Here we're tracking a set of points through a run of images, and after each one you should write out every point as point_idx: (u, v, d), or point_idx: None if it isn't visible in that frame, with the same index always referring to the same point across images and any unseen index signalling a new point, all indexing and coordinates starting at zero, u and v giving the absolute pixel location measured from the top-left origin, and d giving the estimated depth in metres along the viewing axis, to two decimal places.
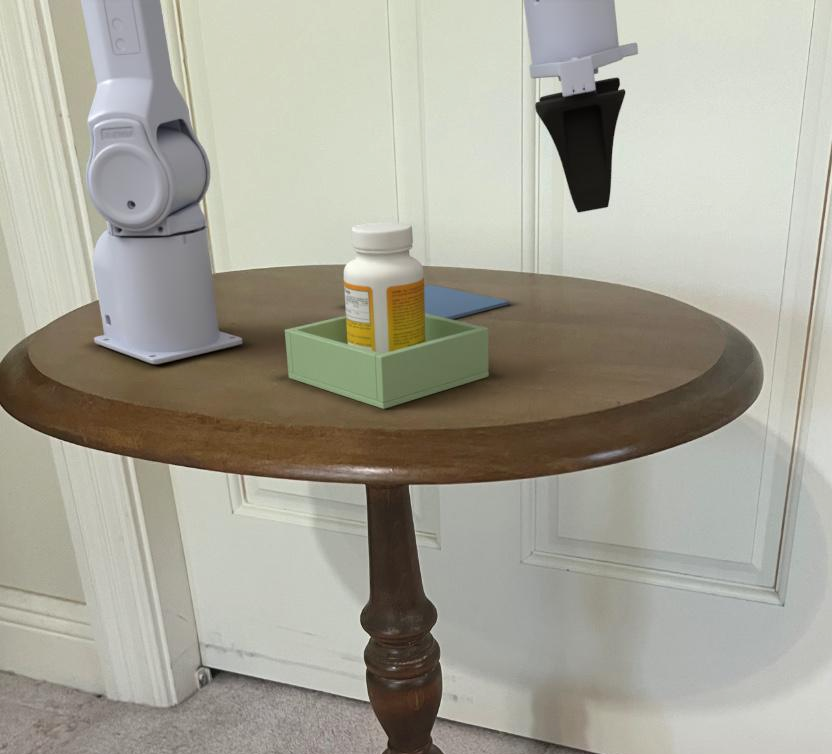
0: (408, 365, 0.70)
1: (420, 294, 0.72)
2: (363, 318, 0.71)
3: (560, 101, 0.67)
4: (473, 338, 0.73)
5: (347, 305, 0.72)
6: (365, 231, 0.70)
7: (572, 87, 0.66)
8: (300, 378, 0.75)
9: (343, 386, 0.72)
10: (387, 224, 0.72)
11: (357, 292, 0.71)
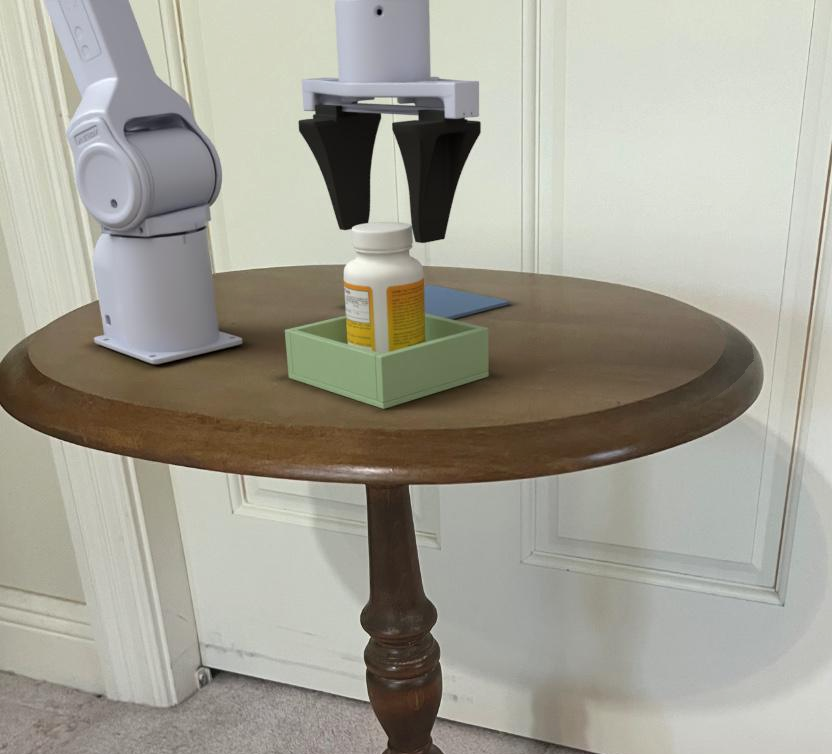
0: (408, 365, 0.70)
1: (420, 294, 0.72)
2: (363, 318, 0.71)
3: (440, 123, 0.64)
4: (473, 338, 0.73)
5: (347, 305, 0.72)
6: (365, 231, 0.70)
7: (463, 110, 0.63)
8: (300, 378, 0.75)
9: (343, 386, 0.72)
10: (387, 224, 0.72)
11: (357, 292, 0.71)
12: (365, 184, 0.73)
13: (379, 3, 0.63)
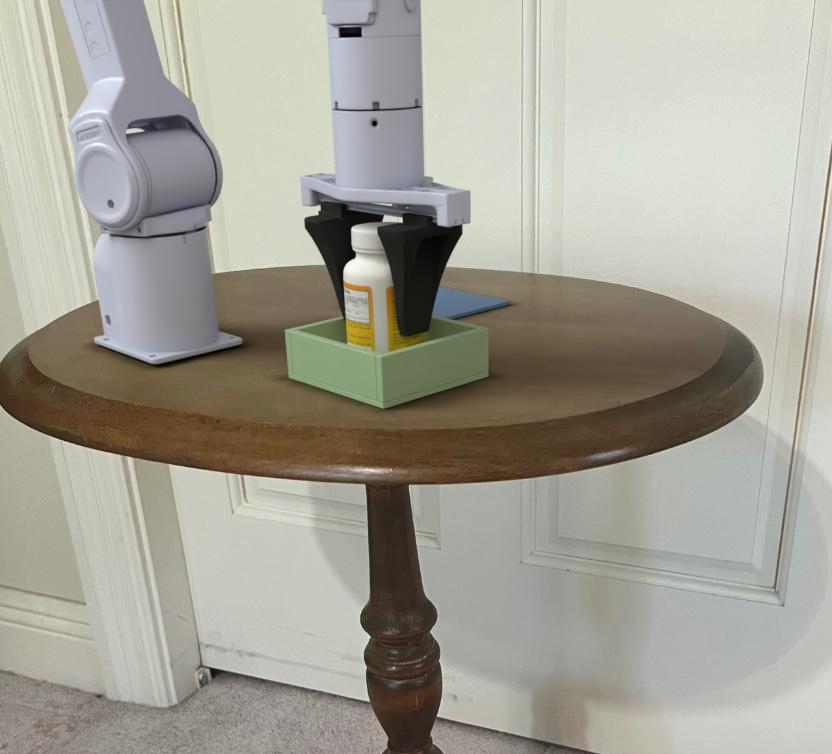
0: (408, 365, 0.70)
1: None
2: (362, 318, 0.71)
3: (422, 229, 0.67)
4: (473, 338, 0.73)
5: (347, 305, 0.72)
6: (365, 231, 0.70)
7: (455, 218, 0.65)
8: (300, 378, 0.75)
9: (343, 386, 0.72)
10: (387, 224, 0.72)
11: (357, 292, 0.71)
12: None
13: (374, 115, 0.65)
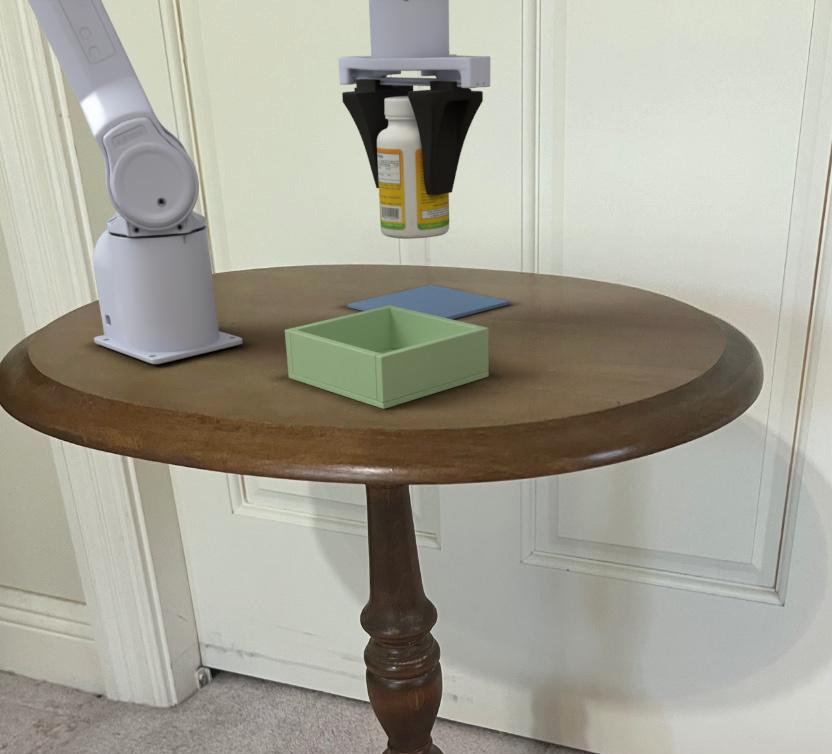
0: (408, 365, 0.70)
1: None
2: (394, 180, 0.81)
3: (448, 92, 0.76)
4: (473, 338, 0.73)
5: (380, 169, 0.82)
6: (397, 99, 0.79)
7: (477, 80, 0.75)
8: (300, 378, 0.75)
9: (343, 386, 0.72)
10: None
11: (389, 155, 0.80)
12: None
13: None
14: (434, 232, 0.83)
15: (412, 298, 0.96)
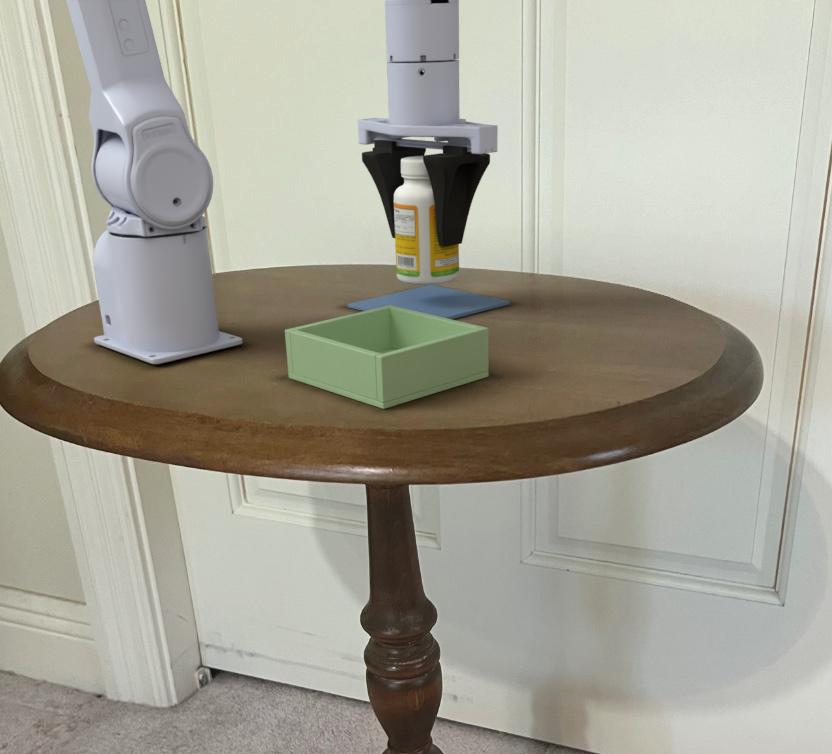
0: (408, 365, 0.70)
1: None
2: (409, 232, 0.89)
3: (459, 156, 0.84)
4: (473, 338, 0.73)
5: (396, 222, 0.90)
6: (412, 160, 0.87)
7: (485, 147, 0.83)
8: (300, 378, 0.75)
9: (343, 386, 0.72)
10: None
11: (405, 210, 0.89)
12: None
13: (422, 66, 0.83)
14: (446, 279, 0.91)
15: (412, 298, 0.96)
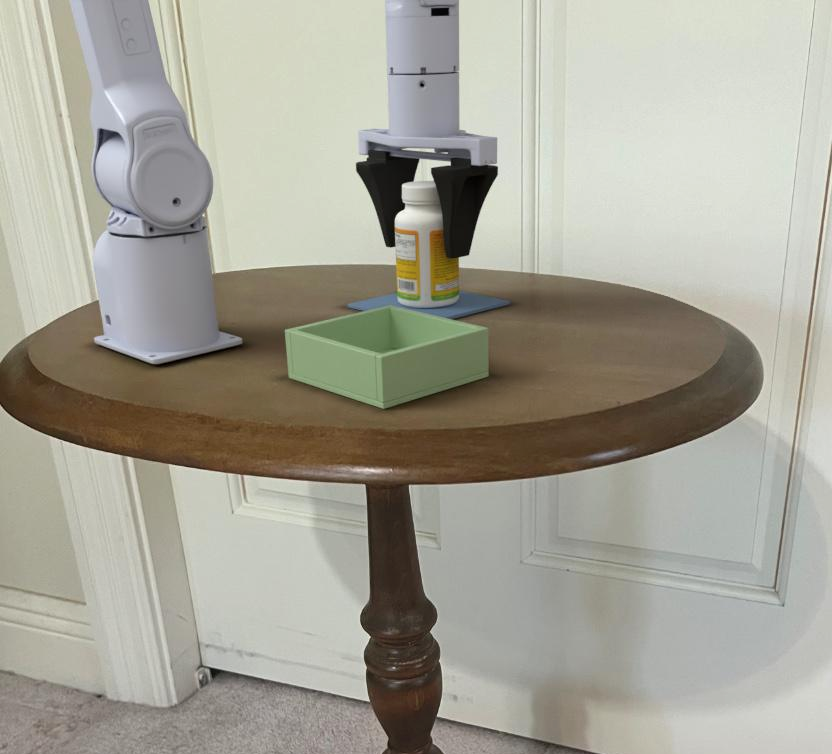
0: (408, 365, 0.70)
1: None
2: (410, 257, 0.90)
3: (467, 169, 0.84)
4: (473, 338, 0.73)
5: (397, 247, 0.91)
6: (413, 186, 0.88)
7: (485, 159, 0.83)
8: (300, 378, 0.75)
9: (343, 386, 0.72)
10: (429, 182, 0.90)
11: (406, 235, 0.90)
12: None
13: (422, 78, 0.83)
14: (446, 302, 0.92)
15: None
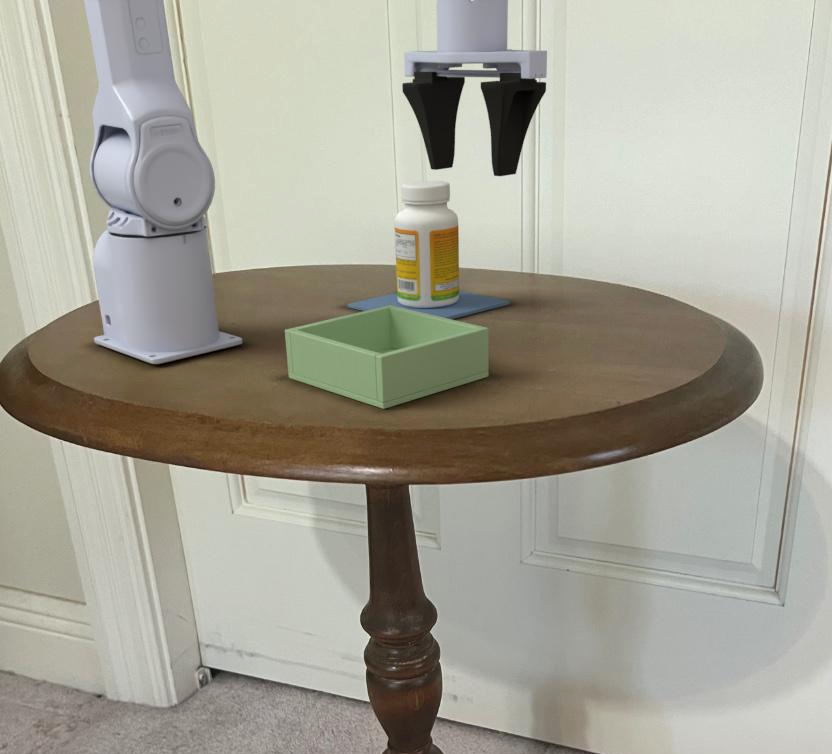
0: (408, 365, 0.70)
1: (455, 238, 0.90)
2: (410, 257, 0.90)
3: (517, 82, 0.84)
4: (473, 338, 0.73)
5: (397, 247, 0.91)
6: (413, 186, 0.88)
7: (535, 72, 0.84)
8: (300, 378, 0.75)
9: (343, 386, 0.72)
10: (429, 182, 0.90)
11: (406, 235, 0.90)
12: (451, 134, 0.94)
13: None
14: (446, 302, 0.92)
15: None
